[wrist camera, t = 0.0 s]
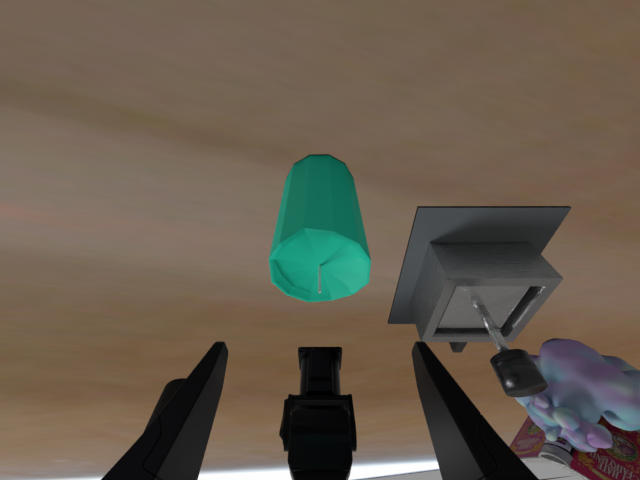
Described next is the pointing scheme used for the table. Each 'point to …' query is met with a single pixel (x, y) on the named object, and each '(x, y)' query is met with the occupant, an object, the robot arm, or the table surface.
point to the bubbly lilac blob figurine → (583, 413)
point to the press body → (479, 270)
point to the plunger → (495, 333)
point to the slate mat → (469, 237)
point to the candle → (319, 233)
